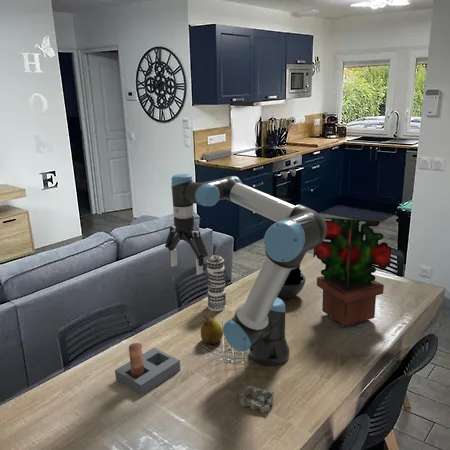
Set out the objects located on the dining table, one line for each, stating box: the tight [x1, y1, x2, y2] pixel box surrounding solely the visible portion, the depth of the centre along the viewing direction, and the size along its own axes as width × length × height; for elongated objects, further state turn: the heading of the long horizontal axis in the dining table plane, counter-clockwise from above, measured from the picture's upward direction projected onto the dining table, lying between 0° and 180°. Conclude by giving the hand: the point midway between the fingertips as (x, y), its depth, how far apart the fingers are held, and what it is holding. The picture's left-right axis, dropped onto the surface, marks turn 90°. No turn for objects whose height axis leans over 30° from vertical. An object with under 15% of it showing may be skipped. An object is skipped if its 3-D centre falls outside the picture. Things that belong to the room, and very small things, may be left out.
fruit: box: [200, 315, 224, 346], centre depth 183 cm, size 9×9×12 cm
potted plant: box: [312, 214, 392, 328], centre depth 193 cm, size 22×22×45 cm
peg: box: [128, 342, 144, 379], centre depth 158 cm, size 4×4×14 cm
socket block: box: [114, 347, 181, 396], centre depth 163 cm, size 14×18×4 cm
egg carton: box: [237, 385, 275, 413], centre depth 147 cm, size 11×8×4 cm
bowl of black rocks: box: [277, 264, 306, 299], centre depth 219 cm, size 20×20×19 cm
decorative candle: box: [205, 254, 227, 312], centre depth 209 cm, size 9×9×25 cm
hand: (186, 269), depth 175 cm, fingers open, 13 cm apart
